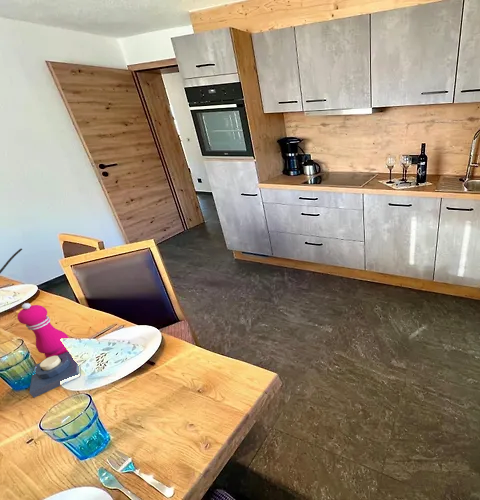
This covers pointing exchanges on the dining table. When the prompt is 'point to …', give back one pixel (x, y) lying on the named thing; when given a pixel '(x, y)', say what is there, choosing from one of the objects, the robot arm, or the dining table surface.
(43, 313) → the pepper mill
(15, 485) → the dining table surface
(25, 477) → the dining table surface
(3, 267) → the robot arm
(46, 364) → the beige round button
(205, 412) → the dining table surface
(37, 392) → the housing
